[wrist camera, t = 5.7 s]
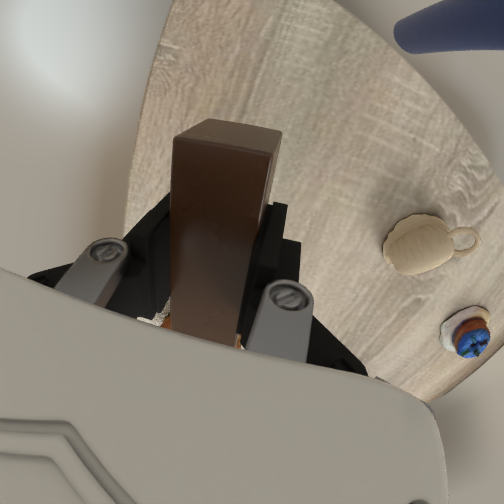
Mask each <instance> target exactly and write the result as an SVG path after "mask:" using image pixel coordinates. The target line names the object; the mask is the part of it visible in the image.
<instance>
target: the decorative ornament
mask: <svg viewBox="0 0 504 504" xmlns="http://www.w3.org/2000/svg"><path fill="white" fill-rule="evenodd" d="M461 233H469V234H471V235H473V236H474V237H475V243H474V245H473V246H472V247H470V248H468V249H466V250H456V249H454V243H453V240H452V238H453V237H454V236H456V235H458V234H461ZM480 242H481V238H480V235H479V233H478V232H477V231H476V230H475V229H473V228H471V227H458V228H455V229H453V230H451V231H450V232H449V229H448V228H447V226H446V224H445V223H444V221H443V220H442V219H439V218H438V217H436V216H429V215H427V214H423V215H410V216H409V217H408V218H406V219H403V220H401V221H399V222H398V223H397V224H396V226H395V228H394V230H393V231H392V232H390V233H389V234H388V239H387V240H386V241H385V242H384V244H383V256H384V258H385V260H386V262H387V264H394V266H395V268H396V270H397V271H398V272H399V273H401V274H404V275H415V274H419V273H423V272H426V271H429V270H431V269H433V268H435V267H437V266H439V265H442V264H443V263H445V262H446V261H447V260H449V259H450V258H451V257H452V256H454V257H465V256H468V255H470V254H472V253H474V252H475V251H476V250H477V249H478V248H479V245H480Z"/></svg>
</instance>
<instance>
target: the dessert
mask: <svg viewBox="0 0 504 504" xmlns="http://www.w3.org/2000/svg"><path fill="white" fill-rule="evenodd" d="M490 320H491V317H490V314H489V313H488V312H487V311H486V310H485V309H483V308H480V307H477V306H472V307H470V308H467V309H465V310H463V311H460V312H458V313H457V314H456V315H453V316H452V317H451V318H450V319H449V320H447V321H446V322H444V323H443V324H442V325H441V333H442V334H441V335H440V341H441V344H442V346H443V347H444V348H445V349H447V350H450V351H452V352H454V353H457V354H459V355H460V356H462V357H465V358H472V357H475V356H477V357H478V356H479V354H480V353H481V352H482V351H483V350H485V348H486V346H487V345H488V342H489V340H490V331H489V329H488V326H489V324H490Z"/></svg>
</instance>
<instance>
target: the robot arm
mask: <svg viewBox="0 0 504 504" xmlns="http://www.w3.org/2000/svg"><path fill="white" fill-rule="evenodd" d="M287 207H288V205H287V204H282V203H278V202H273V205H269V204H268V205H267V208H266V211H265V215H264V218H263V221H262V225H261V228H260V231H259V235H258V238H257V240H256V242H255V246H254V249H253V252H252V256H251V259H250V263H249V267H248V272H247V277H246V282H245V288H244V293H243V298H242V303H241V308H240V313H239V318H238V324H237V329H236V334H239V335H241V338H240V344H241V345H242V346H243V347H244V348H245V350H243V349H239V348H235V347H231V346H227V345H223V344H219V343H215V342H212V341H208V340H204V339H200V338H197V337H193V336H190V335H186V334H183V333H179V332H176V331H172V330H169V329H166V328H162V327H159V326H156V325H153V324H150V323H146V322H143V321H140V320H137V317H143V318H146V319H149V320H153V318H154V316H155V314H156V312H157V313H161V312H162V310H163V308H164V306H165V304H166V303H167V301H168V299H169V297H170V192H169V193H168V194H167V195H166V196H165V197H164V198H163V199H162V200H161V201H160V202H159V203H158V204H157V205H156V206H155V207H154V208H153V209H152V210H150V211H149V212H148V213H147V214H146V215H145V216H144V217H143V218H142V219H141V220H140V221H139V222H138V223H137V224H136V225H135V226H134V227H133V228H132V230H131V231H130V232H129V233H128V234H127V235H126V236H125V237H124V238H123V239H122V240H120V239H117V238H103V239H99V240H97V241H95V242H93V243H91V244H90V245H89V246H88V247H87V248H86V249H85V250H84V251H83V253H82V254H81V255H80V256H79V258H78V259H77V260H76V261H75V262H74V263H71V264H67V265H63V266H60V267H56V268H52V269H48V270H45V271H41V272H37V273H35V274H32V275H30V276H29V277H27V278H25V277H23V276H21V275H18V274H16V273H13V272H10V271H8V270H5V269H3V268H1V267H0V504H448V483H447V472H446V462H445V456H444V450H443V445H442V440H441V436H440V433H439V429H438V426H437V424H436V421H435V416H434V412H433V410H432V409H431V408H430V406H429V405H427V404H426V403H425V402H423V401H421V400H419V399H418V398H416V397H415V396H413V395H411V394H410V393H408V392H406V391H404V390H402V389H400V388H398V387H396V386H394V385H392V384H390V383H388V382H386V381H384V380H382V379H381V378H379V377H377V376H376V377H375V378H371V377H369V376H368V373H367V371H366V368H365V366H364V365H363V364H362V363H361V361H360V360H359V359H358V358H356V357H355V356H354V355H353V354H352V353H351V352H350V351H349V350H348V349H347V348H346V347H345V346H344V345H343V344H342V343H341V342H340V341H339V340H338V339H337V338H336V337H335V336H334V335H333V334H332V333H331V332H330V331H329V330H328V329H327V328H325V327H324V326H323V325H322V324H321V323H320V322H319V321H318V320H317V319H316V318H315V317H314V316H313V315H312V314H313V306H314V299H313V296H312V294H311V292H310V291H309V290H308V289H307V288H306V287H305V286H303V285H301V284H300V283H299V270H300V255H301V242H297V241H292V240H288V239H284V238H283V232H284V226H285V220H286V213H287Z"/></svg>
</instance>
